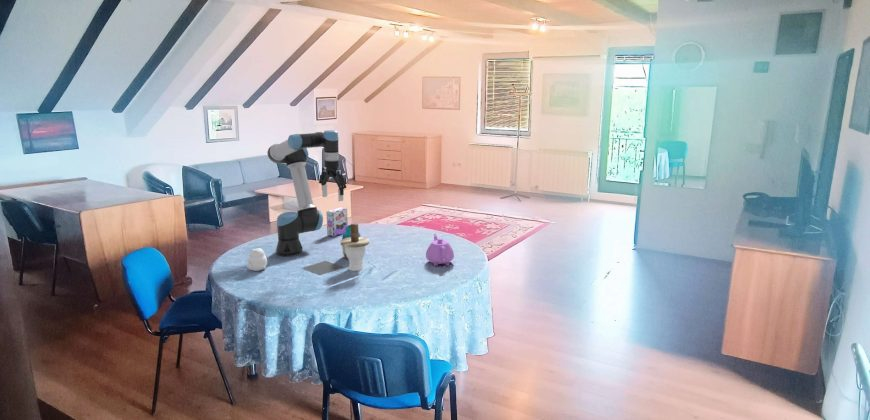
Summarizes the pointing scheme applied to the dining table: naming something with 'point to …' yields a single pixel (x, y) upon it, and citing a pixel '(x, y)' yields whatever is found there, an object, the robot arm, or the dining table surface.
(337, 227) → the candy box
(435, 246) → the teapot
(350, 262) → the cup
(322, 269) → the mat
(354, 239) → the lid
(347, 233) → the vase
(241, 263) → the dining table surface
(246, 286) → the dining table surface
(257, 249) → the figurine
